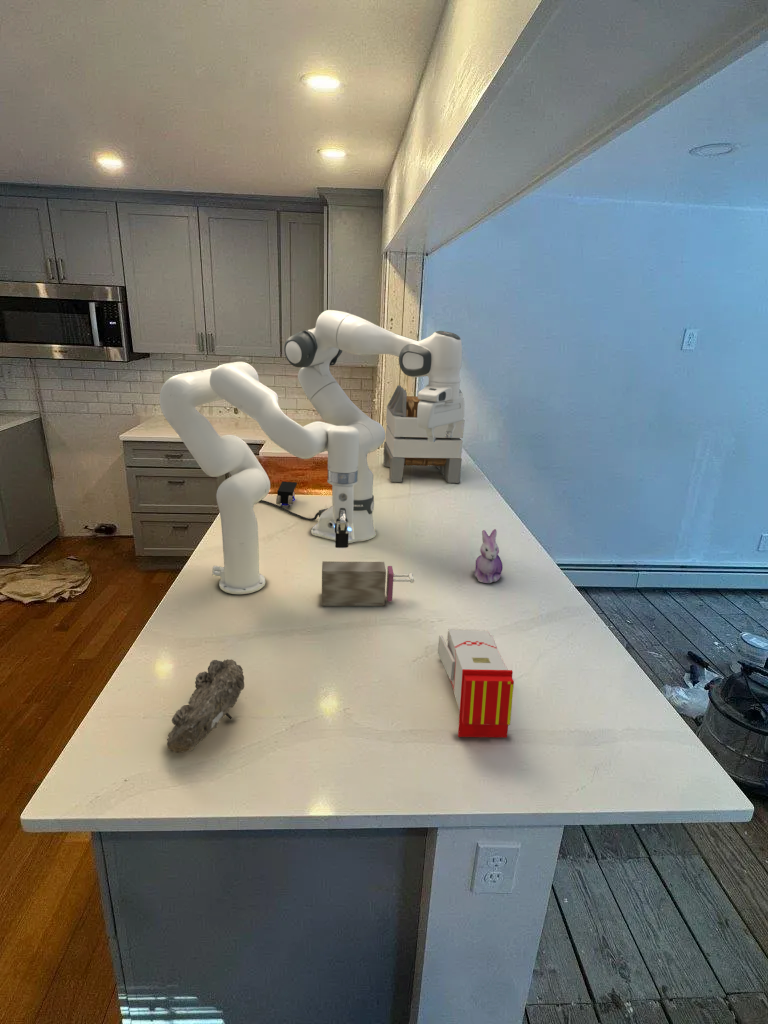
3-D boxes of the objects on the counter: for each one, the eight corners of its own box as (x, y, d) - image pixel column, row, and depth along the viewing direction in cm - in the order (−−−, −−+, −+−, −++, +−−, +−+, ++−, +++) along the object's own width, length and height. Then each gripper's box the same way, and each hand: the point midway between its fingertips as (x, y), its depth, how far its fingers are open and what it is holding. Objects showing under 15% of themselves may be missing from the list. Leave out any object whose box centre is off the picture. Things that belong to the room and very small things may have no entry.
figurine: (485, 587, 164) (491, 539, 159) (465, 572, 172) (469, 526, 167) (511, 581, 168) (517, 534, 163) (490, 567, 176) (495, 522, 171)
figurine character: (293, 513, 218) (297, 497, 231) (292, 495, 215) (297, 480, 228) (275, 513, 218) (281, 496, 231) (274, 495, 214) (280, 479, 228)
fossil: (192, 660, 117) (244, 628, 112) (224, 691, 120) (276, 661, 115) (142, 746, 98) (202, 712, 93) (182, 779, 101) (242, 748, 96)
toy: (488, 613, 130) (523, 677, 101) (484, 667, 133) (517, 744, 104) (435, 612, 130) (455, 676, 101) (432, 666, 133) (451, 743, 103)
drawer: (411, 593, 157) (412, 565, 154) (413, 601, 152) (415, 573, 149) (334, 593, 155) (334, 565, 152) (334, 601, 150) (334, 573, 148)
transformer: (382, 463, 289) (386, 382, 275) (445, 464, 293) (451, 384, 279) (390, 482, 257) (394, 392, 243) (460, 483, 261) (468, 394, 247)
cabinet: (382, 595, 157) (384, 561, 153) (384, 605, 151) (386, 571, 148) (322, 595, 155) (322, 561, 152) (321, 605, 150) (321, 571, 146)
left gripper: (359, 487, 133) (357, 553, 139) (355, 467, 149) (354, 527, 155) (327, 486, 132) (326, 553, 138) (327, 466, 149) (326, 527, 154)
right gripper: (453, 387, 170) (449, 433, 174) (414, 393, 154) (411, 443, 159) (471, 389, 166) (467, 436, 171) (433, 396, 151) (430, 447, 155)
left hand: (341, 539), depth 147 cm, fingers open, 9 cm apart
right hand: (440, 439), depth 165 cm, fingers open, 8 cm apart
